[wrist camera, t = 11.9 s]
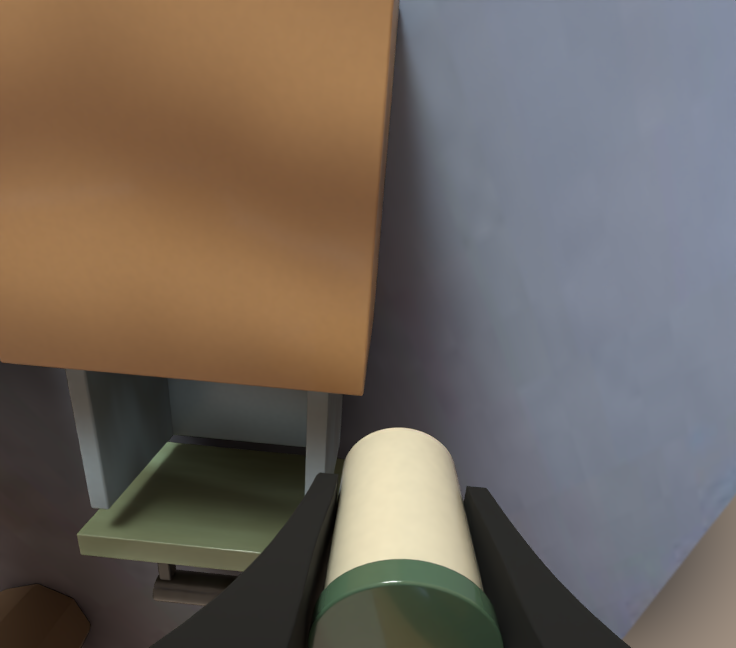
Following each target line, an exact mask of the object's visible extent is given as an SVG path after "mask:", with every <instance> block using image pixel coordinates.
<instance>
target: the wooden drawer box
mask: <svg viewBox="0 0 736 648" xmlns="http://www.w3.org/2000/svg"><path fill="white" fill-rule="evenodd" d="M398 14H399V0H0V361H1V362H2V363H10V364H21V365H32V366H42V367H53V368H64V369H75V370H86V371H97V372H108V373H118V374H129V375H140V376H151V377H162V378H173V379H184V380H195V381H205V382H216V383H227V384H238V385H249V386H260V387H271V388H281V389H292V390H303V391H314V392H325V393H336V394H347V395H358V396H362V395H363V393H364V386H365V378H366V371H367V363H368V356H369V348H370V341H371V333H372V326H373V318H374V307H375V295H376V283H377V270H378V258H379V246H380V234H381V222H382V209H383V197H384V185H385V173H386V160H387V148H388V136H389V124H390V112H391V99H392V87H393V75H394V63H395V51H396V38H397V26H398Z"/></svg>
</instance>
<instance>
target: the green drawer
mask: <svg viewBox="0 0 736 648" xmlns="http://www.w3.org/2000/svg"><path fill="white" fill-rule="evenodd" d="M65 371H66V377H67V382H68V387H69V392H70V398H71V403H72V408H73V414H74V419H75V424H76V429H77V435H78V440H79V445H80V450H81V456H82V461H83V466H84V471H85V477H86V482H87V487H88V493H89V498H90V503H91V507H92V508H98V509H99V510H98V511H97V512H96V513H95V515H94V516H93V517H92V518H91V519H90V520H89V521H88V522H87V523H86V525H85V526H84V527H83V528H82V529H81V530H80V531H79V532H78V533H77V538H78V543H79V548H80V552H81V555H89V556H99V557H108V558H118V559H127V560H137V561H147V562H156V563H158V570H159V575H158V577H157V579H156V582H155V585H154V589H153V599H154V600H156V601H164V602H174V603H183V604H192V605H201V606H205V605H207V604H208V603H209V602H210V601H211V600H213V599H214V598H215V597H216V596H217V595H219V594H220V593H221V592H222V591H223V590H224V589H225V588H227V587H228V586H229V585H230V584H231V583H232V582H233V581H234V580H235V579H236V578H237V577H238V576H232V575H223V574H213V573H204V572H194V571H185V570H176V565H185V566H194V567H204V568H213V569H223V570H232V571H242V572H243V571H244V570H245V569H246V568H247V567H248V566H249V565H250V564H251V563H252V562H253V561H254V560H255V559H256V558H257V557H258V556H259V555H260V554H261V553H262V551H263V550H264V549H265V548H266V547H267V546H268V545H269V543H270V542H271V541H272V540H273V539H274V537H275V536H276V535H277V534H278V532H279V531H280V530H281V529H282V527H283V526H284V525H285V524H286V522H287V521H288V519H289V518H290V517H291V515H292V514H293V512H294V511H295V510H296V508H297V507H298V505H299V504H300V502H301V501H302V499H303V498H304V496H305V495H306V493H307V491H308V490H309V488H310V486H311V484H312V483H313V481H314V479H315V477H316V475H317V474H318V473H320V472H321V473H332V474H339V476H338V493H339V487H340V481H341V475H342V469H343V464H344V461H345V459H338V458H337V455H338V449H339V445H340V434H341V417H342V400H343V394H336V393H325V392H314V391H303V390H292V389H281V388H271V387H260V386H249V385H238V384H227V383H216V382H205V381H195V380H184V379H173V378H162V377H151V376H140V375H129V374H118V373H108V372H97V371H86V370H75V369H65ZM173 435H182V436H192V437H203V438H213V439H223V440H234V441H244V442H255V443H265V444H276V445H286V446H296V447H306V455H297V454H287V453H276V452H266V451H255V450H245V449H235V448H224V447H214V446H204V445H193V444H183V443H173V442H168V441H169V439H170V438H171V437H172V436H173ZM338 493H337V500H338Z"/></svg>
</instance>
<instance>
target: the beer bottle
mask: <svg viewBox="0 0 736 648" xmlns="http://www.w3.org/2000/svg"><path fill="white" fill-rule="evenodd" d="M90 625H91V624H90V623H89V621H88V620H87V618H86V617H85V615H84V614H83V612H82V611H81V610H80V608H79V607H78V605H77V604H76V602H75V601H74V599H72V598H70V597H68V596H65V595H63V594H61V593H58V592H56V591H54V590H51V589H49V588H46V587H44V586H42V585H39V584H34V585H28V586H22V587H16V588H11V589H6V590H4V591H2V592H0V648H81V647H82V645H83V643H84V641H85V638H86V636H87V634H88V632H89V630H90Z"/></svg>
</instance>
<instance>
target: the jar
mask: <svg viewBox="0 0 736 648" xmlns="http://www.w3.org/2000/svg"><path fill="white" fill-rule="evenodd" d="M307 648H504V643H503V637H502V633H501V629H500V625H499V621H498V617H497V614H496V612H495V609H494V607H493V605H492V603H491V602H490V600H489V598H488V597H487V596H486V595H485V591H484V587H483V583H482V578H481V574H480V570H479V566H478V561H477V557H476V553H475V548H474V544H473V540H472V536H471V531H470V527H469V523H468V518H467V514H466V510H465V506H464V501H463V497H462V493H461V488H460V484H459V480H458V476H457V471H456V467H455V464H454V461H453V458H452V457H451V455H450V453H449V452H448V450H447V449H446V448H445V447H444V446H443V445H442V444H441V443H440V442H439V441H438V440H436V439H435V438H433V437H432V436H430V435H428V434H426V433H424V432H421V431H418V430H415V429H410V428H400V427H398V428H387V429H382V430H379V431H376V432H373V433H371V434H369V435H367V436H365V437H364V438H362V439H361V440H360V441H358V442H357V443H356V444H355V445H354V446H353V447H352V449H351V450H350V451H349V453H348V455H347V456H346V458H345V461H344V464H343V469H342V475H341V481H340V487H339V493H338V500H337V506H336V512H335V518H334V524H333V530H332V536H331V542H330V548H329V554H328V560H327V566H326V572H325V578H324V584H323V590H322V593H321V595H320V596H319V598H318V599H317V601H316V603H315V606H314V608H313V612H312V617H311V623H310V628H309V634H308V639H307Z"/></svg>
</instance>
